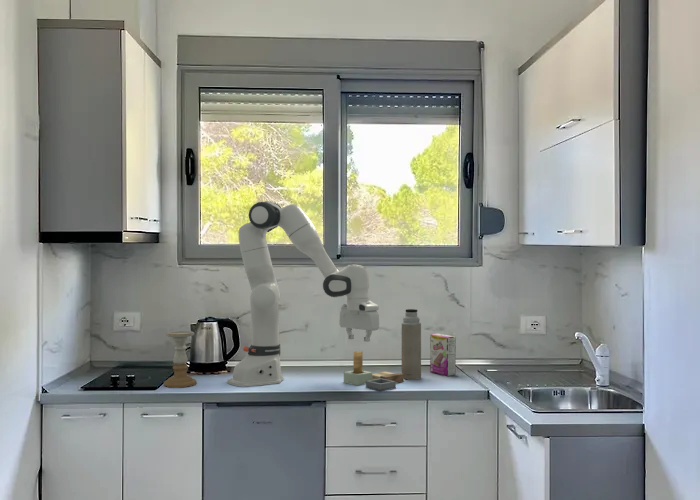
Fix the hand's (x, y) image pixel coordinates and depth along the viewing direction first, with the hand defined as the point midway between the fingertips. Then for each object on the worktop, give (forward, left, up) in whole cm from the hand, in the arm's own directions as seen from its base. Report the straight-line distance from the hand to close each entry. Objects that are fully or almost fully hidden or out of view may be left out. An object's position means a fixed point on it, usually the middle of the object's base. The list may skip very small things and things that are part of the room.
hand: (358, 340), depth 244 cm
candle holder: (-55, +42, -17) cm, 72 cm away
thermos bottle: (+23, -7, -17) cm, 29 cm away
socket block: (0, 0, -17) cm, 17 cm away
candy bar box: (+39, -10, -17) cm, 43 cm away
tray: (0, -13, -17) cm, 21 cm away
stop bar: (+10, -9, -17) cm, 21 cm away
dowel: (0, 0, -17) cm, 17 cm away
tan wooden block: (+10, -4, -17) cm, 20 cm away
